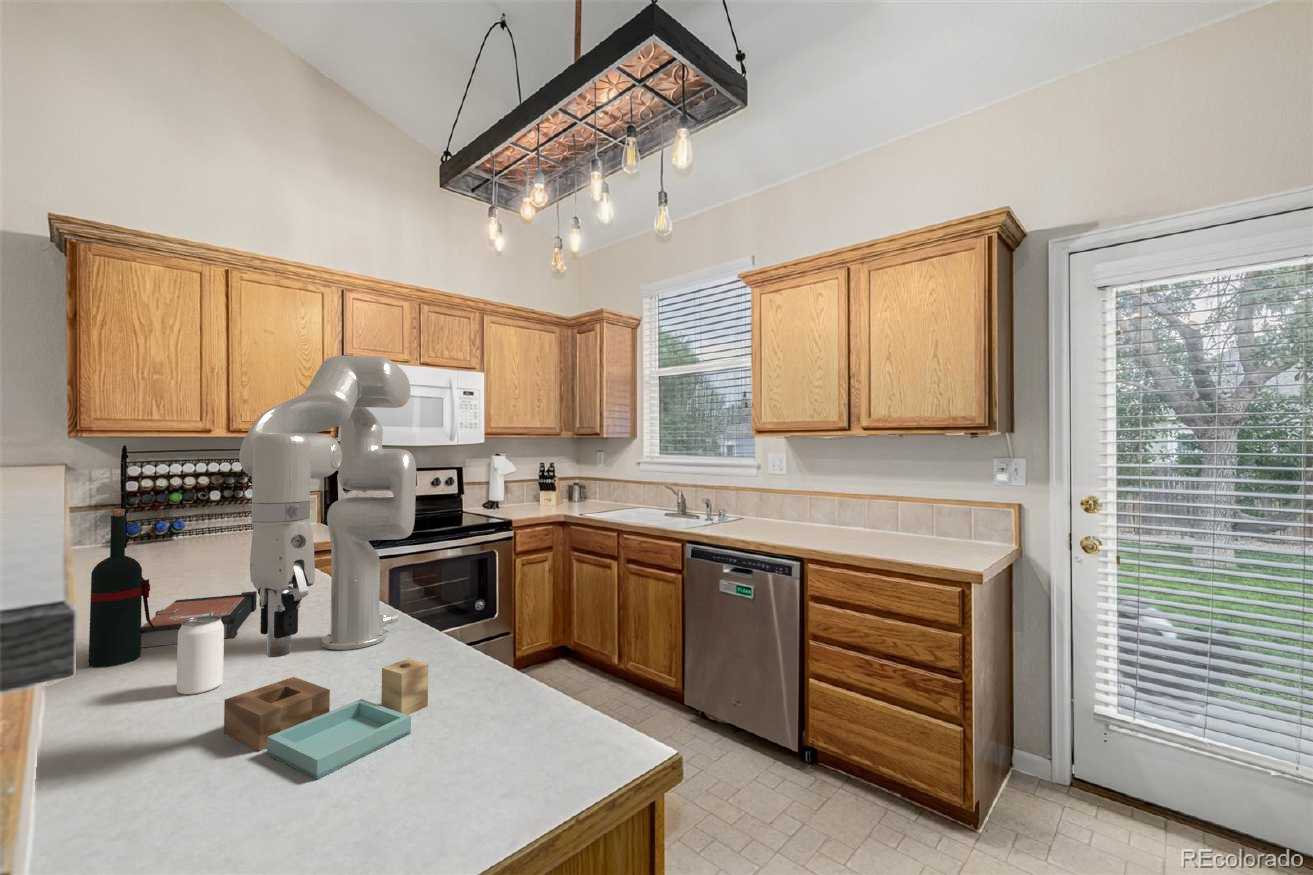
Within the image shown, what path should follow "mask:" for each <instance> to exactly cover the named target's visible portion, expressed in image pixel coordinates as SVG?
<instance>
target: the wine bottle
mask: <svg viewBox="0 0 1313 875" xmlns="http://www.w3.org/2000/svg"><path fill="white" fill-rule="evenodd" d="M125 512H126V509H125V508H118V509H111V513H112V515H110V542H109V543H110V545H109V548H110V549H109V550H110V551H109V557H107V558H104V559H103V560H101V561H100V562H98V563H97V564H96V565H95V566H94V567H93V569H92V571H91V573H90V574H91V577H90V578H91V579H90V607H89V608H90V610H89V634H88V635H89V638H88V663H87V664H88V665H87V666H88V667H90V668H95V669H96V668H98V669H99V668H108V667H115V666H120V665H124V664H127V663H130V662H134V661H136V660H138V659H140V658H141V657H142V649H141V627H142V602H143V607H144V615H145V619H146V620H145V621H146V622H148V623H149V624H150V626H151V627H152V628H154V626H153V625H152V623H151V621H150V620H151V617H150V609H149V603H148V602H149V601H148V599H149V598H150V592H151V584H150V579H149V578H147V579H145V578H144V577H143V568H142V566H141V564H140V562H139V561H138V560H136V559H135V558H132V557H131V556H129V555H126V554H125V553H126V517H127V516H126V514H125ZM154 629H155V628H154ZM155 630H156V629H155Z"/></svg>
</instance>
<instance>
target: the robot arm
mask: <svg viewBox="0 0 1313 875" xmlns="http://www.w3.org/2000/svg"><path fill="white" fill-rule="evenodd" d="M410 383H411V382H410V380H409V377H408V375H407V373H406V372H405V370H403V368H401V367H400V366H399V365H398V364H397V363H396V362H394V361H393V360H391V359H388V358H385V357H382V356H366V355H364V356H363V355H334V356H331V357H328V358H327V359H325V360H324V361H322V363H321V364H320V366H319V367H318V370H317V371H316V372H315V375H313V378H312V380H311V382H310V383H309V385H308V387H306V390H305V392H304V393H303V394H301V395H298V396H295V397H293V398H291V399H289V400H286V401H285V402H282V403H279V404H278V405H276V406H273V407H272V408H269V409H267V410H266V411H264V412H262V414H260V415H259V416H258V417H257V419H256V420H254V423H253V424H252V426H251V427H250V428H249V430H248V432H247V433H246V435H245V436H244V439H243V441H242V442H241V446H240V450H239V458H238V459H239V463H240V466H241V468H242V470H243V472H244V473H246V474H247V475H248V476H250V477H251V478H252V482H251V484H252V487H251V488H252V489H251V526H253V531H252V536H251V546H250V557H249V560H250V561H249V576H250V582H251V583H252V584H253V587H254V588H255V590H256V591H257V595H258V596H259V600H258V604H259V607H260V625H259V626H260V629H259V630H260V631H259V632H260V634H261V635H267V627H268V589H272V590H276V591H277V610H278V611H276V612H274V638H277V639H279V638H282V637H286V636H290V635H291V636H294V635H297V634H298V632H299V608H300V607H301V602H302V600H303V599H304V598H305V597H306V596H308V595H309V589H308V587H311V586H313V585H314V583H315V579H316V567H315V566H316V564H315V546H314V536H313V531H312V530H313V529H312V527H311V526H312V525H311V522H310V521H311V520H310V517H311V479H321V478H327V477H329V476H331V475H333V474H334V473H335V472H336V471H337V470H338V482H339V484H340V486H341V488H343V489H345V490H348V491H357V492H359V491H360V492H378V491H379V492H391V493H392V495H393V496H353V497H352V496H351V497H344V498H340V499H338V500H336V501H334V502H333V503H332V504H331V505H330V506H329V508H328V510H327V517H326V518H327V519H326V520H327V521H326V522H327V528H328V533H329V539H330V549H331V553H330V554H331V577H330V578H331V584H330V585H331V586H330V587H331V590H330V592H331V594H330V595H331V598H330V633H328V634H327V635H325V636H324V637H323V638H322V640H321V645H322V646H323V647H324V648H326V649H329V650H335V651H336V650H337V651H338V650H339V651H344V650H354V649H355V650H356V649H361V648H367V647H370V646H373V645H375V644H378V643H381V642H382V641H384V640H385V639H386V638H387V630H386V629H385V627H386V626H387V625H390V624H395V623H398V621H399V615H398V613H393V614H389V615H387V616H386V614H382V615H381V614H380V587H381V586H380V583H381V581H380V580H381V579H380V578H381V576H380V574H381V573H380V572H381V560H380V557H379V554H378V552H377V550H376V549H375V548H374V547H373V546H372V544H371V543H370V542H369V541H377V540H378V541H381V540H382V541H384V540H385V541H386V540H390V541H391V540H402V539H406V538H408V537H409V536H411V535H412V533H413V531H414V528H415V520H416V494H417V493H416V492H417V491H416V490H417V463H416V460H415V457H414V455H413V454H412V452H410V451H408V450H406V449H401V448H383V432H384V430H383V426H382V424H381V423H380V421H379V420H378V418H377V417H376V416H375V414H374V413H372V411H371V410H370V409H369V408H381V409H382V408H386V409H392V408H393V409H397V408H398V409H399V408H402V407H404V406H406V405H407V403H408V401H409V399H410V396H411V384H410ZM337 427H339V429H340V441H339V442H338V441H337V439H336V438H334V437H332V436H331V435H328V434H325V433H322V432H324V431H325V432H326V431H327V430H331V429H334V428H337ZM320 432H321V433H320ZM290 585H292V586H291V587H292V588H288V587H289V586H290ZM287 593H291V594H289V595H287V597H286V598H285V594H287Z"/></svg>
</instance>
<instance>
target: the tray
mask: <svg viewBox="0 0 1313 875" xmlns="http://www.w3.org/2000/svg"><path fill="white" fill-rule="evenodd" d="M411 728H412V716H410V715H405V714H402V713H400V712H397V711H394V710H391V709H388V708H385V707H383V706H381V705H379V704H376V703H374V702H371V701H368V700H365V699H363V698H360V699H357V700H355V701H353V702H350V703H348V704H345V705H343V706H340V707H338V708H335V709H333V710H329V712H328V713H325V714H323V715H320V716H318V717H315V718H313V719H310V720H308V721H305V722H303V723H300V724H298V725H295V726H293V727H290V728H288V729H285V730H283V731H280V732H278V733H275V734H273V735H270V736H268V737H267V748H266V755H267V756H268V757H271V758H273V759H275V760H276V761H278V762H280V763H282V764H285V765H286V766H289V767H291V768H293V769H295V770H297V771H299V772H301V773H303V774H305V775H306V776H309V777H311V778H313V779H315V780H320V779H321V778H324V777H325V776H327V775H330V774H332V773H333V772H336V771H338V770H340V769H342V768H344V767H345V766H347V765H350V764H352V763H353V762H356V761H358V760H359V759H361V758H364V757H366V756H368V755H370V754H372V753H374V752H376V751H378V750H380V749H381V748H384V747H386V746H388V745H390V744H392V743H394V742H396V741H398V740H400V739H402V738H405V737H406V736H408V735H410V734H411V733H412V729H411Z"/></svg>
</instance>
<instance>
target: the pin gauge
mask: <svg viewBox="0 0 1313 875" xmlns="http://www.w3.org/2000/svg"><path fill="white" fill-rule="evenodd" d="M288 586H289V587H288V588H292V587H293V586H290V585H288ZM289 594H292V593H287V594H285V598H286V597H287V595H289ZM276 611H278V610H277V591H276V590H272V589H268V627H267V634H266V635H267V637H266V638H267V641H266V642H267V643H266V657H267V658H281V657H286V656H287V655H289V654H290V653H291V637H292V635H290V636H286V637H282V638H279V639H277V638H274V612H276Z"/></svg>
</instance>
